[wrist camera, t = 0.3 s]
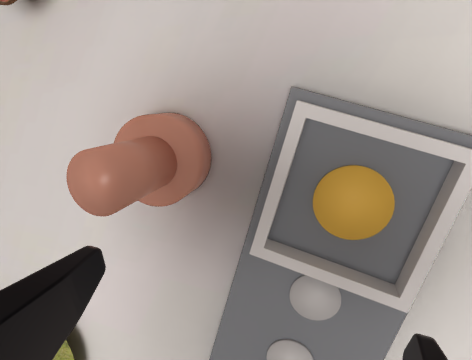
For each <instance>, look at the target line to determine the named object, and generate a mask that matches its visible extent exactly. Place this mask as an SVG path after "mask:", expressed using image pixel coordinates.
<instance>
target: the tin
mask: <svg viewBox="0 0 472 360" xmlns="http://www.w3.org/2000/svg"><path fill="white" fill-rule="evenodd" d="M16 1H17V0H0V5H10V4H12V3H14V2H16Z"/></svg>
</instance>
